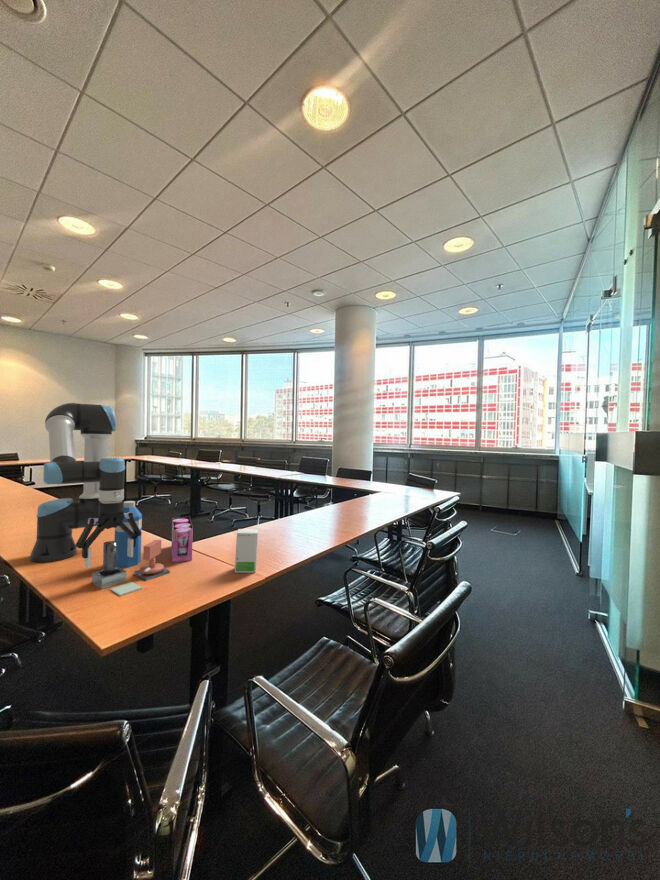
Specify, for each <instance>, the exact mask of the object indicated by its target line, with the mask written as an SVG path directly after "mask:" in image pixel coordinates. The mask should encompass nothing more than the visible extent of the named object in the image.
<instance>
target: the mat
mask: <svg viewBox="0 0 660 880" xmlns="http://www.w3.org/2000/svg"><path fill="white" fill-rule="evenodd" d="M139 590H140V591H141V590H143V586H141V585H139V584H137V583H135V582H133V581H131V582H127V583H124V584H120V585H117V586H114V587H111V588H110V591H111V592H113V593H114V594H116V595H118V596H119V597H122V596H125V595H129V594H132V593H133V592H137V591H139Z"/></svg>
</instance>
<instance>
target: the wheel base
mask: <svg viewBox="0 0 660 880" xmlns="http://www.w3.org/2000/svg"><path fill="white" fill-rule="evenodd" d="M170 573H171V570H170V569H168V568H166V567H164V569H163V570H162V571H160V572H158V573H154V574H142V573H140V569H138V570H134V571H133V575H134V576H137V577H138V578H140V579H142V580H144V581H149V580H152V579H155V578H158V577H162V576H164V575H168V574H170Z"/></svg>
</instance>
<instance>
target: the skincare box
mask: <svg viewBox="0 0 660 880" xmlns="http://www.w3.org/2000/svg"><path fill="white" fill-rule="evenodd" d="M258 545H259V529H256V528H255V529H252V528H238V529H237V533H236V544H235V559H234V573H235V574H239V573H241V574H243V573H247V574H248V573H249V574H250V573H251V574H252V573H253V574H254V573H256V572H257V561H258V559H257V558H258Z"/></svg>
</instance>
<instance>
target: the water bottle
mask: <svg viewBox="0 0 660 880" xmlns="http://www.w3.org/2000/svg"><path fill="white" fill-rule="evenodd" d="M123 502H124V511H123V513H124V514H125V513H127V512H131V513H133V519H134V521H135V522H136V524H137V526H138V528H139V530H140V532H141V533H142V527H143V525H142V522H143V514H142V513H141V512H140V510H139V509H138V508H137V507H136V501H134V500H126V501H125V500H124V501H123ZM122 522H123V523H124V524H125V525H126V526H127V527H128V528H129V529H130V530H131V531H132V532H133V533H134V531H133V529H132V527H131V526H130V524H129V522H128V520H127V519H126V518H125V517H124V519H123V520H122ZM128 538H131V537H130V536H129V535H128V534H127V533H125V532H124V531H123V530H122V529H121V528H120V527H119V526H117V527H116V528H114V541H117V561H116V566H117V567H119V568H121V569H123V568H124V569H125V568H131V567H134V566H138V565H139V564H140V563H141V561H142V560H141V558H142V557H141V555H142V535H141V536H138V537H137V539H136V546H135V547H133V557H129V556H127V549H128Z"/></svg>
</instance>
